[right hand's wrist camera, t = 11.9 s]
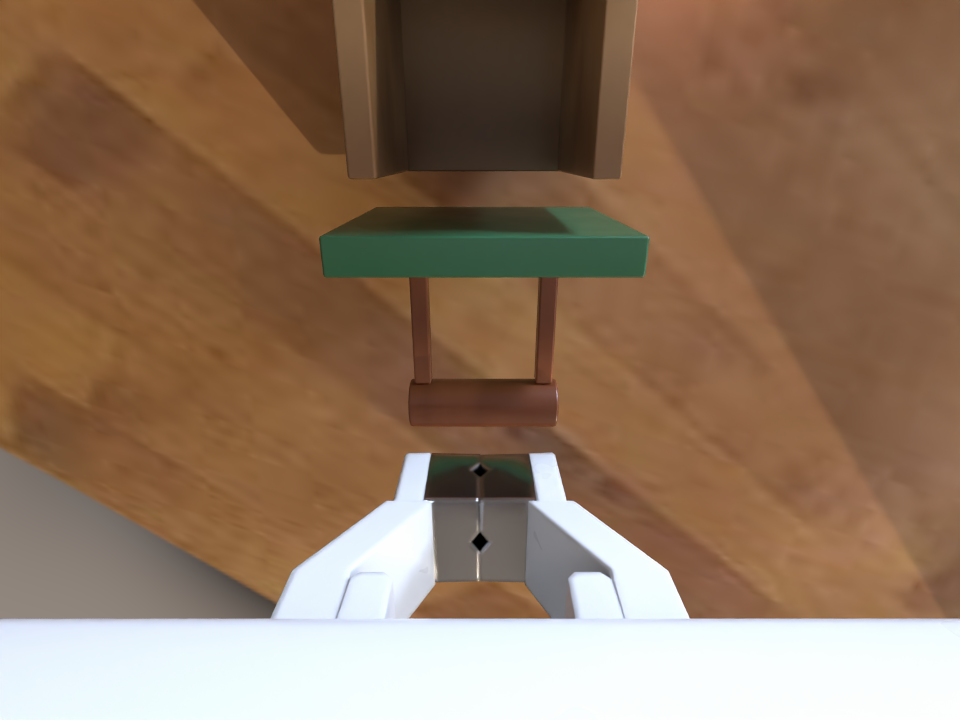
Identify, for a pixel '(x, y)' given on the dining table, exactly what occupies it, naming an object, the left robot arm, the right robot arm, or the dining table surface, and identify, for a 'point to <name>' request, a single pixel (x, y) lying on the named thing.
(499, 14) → the drawer
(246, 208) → the dining table surface
